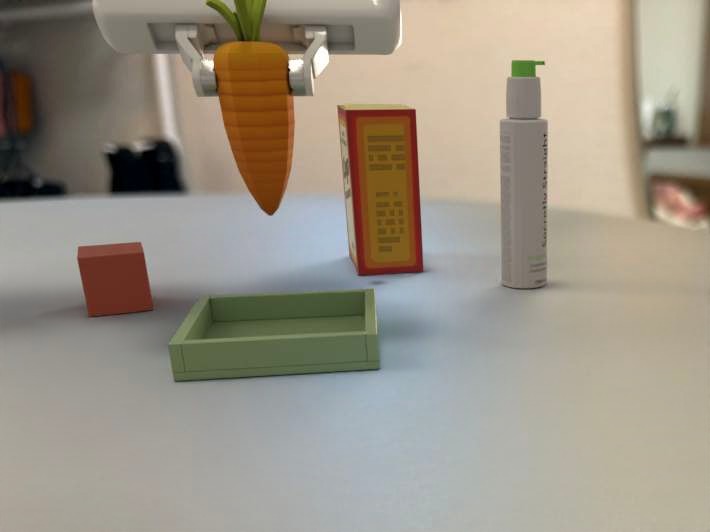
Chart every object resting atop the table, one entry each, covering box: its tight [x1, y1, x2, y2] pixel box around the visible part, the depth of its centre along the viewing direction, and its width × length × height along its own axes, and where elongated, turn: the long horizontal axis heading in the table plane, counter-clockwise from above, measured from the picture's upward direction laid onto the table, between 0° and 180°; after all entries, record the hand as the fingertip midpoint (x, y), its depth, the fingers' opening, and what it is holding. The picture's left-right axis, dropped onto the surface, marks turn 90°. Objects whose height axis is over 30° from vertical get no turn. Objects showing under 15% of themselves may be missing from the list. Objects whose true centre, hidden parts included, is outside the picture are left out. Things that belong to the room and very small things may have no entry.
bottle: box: [499, 59, 549, 290], centre depth 78 cm, size 4×4×20 cm
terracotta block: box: [76, 241, 155, 318], centre depth 73 cm, size 5×5×5 cm
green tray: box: [167, 288, 380, 382], centre depth 63 cm, size 14×13×3 cm
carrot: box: [206, 0, 296, 217], centre depth 58 cm, size 5×5×15 cm
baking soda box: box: [336, 102, 424, 276], centre depth 87 cm, size 10×6×16 cm
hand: (255, 90), depth 57 cm, fingers closed on carrot, 5 cm apart
